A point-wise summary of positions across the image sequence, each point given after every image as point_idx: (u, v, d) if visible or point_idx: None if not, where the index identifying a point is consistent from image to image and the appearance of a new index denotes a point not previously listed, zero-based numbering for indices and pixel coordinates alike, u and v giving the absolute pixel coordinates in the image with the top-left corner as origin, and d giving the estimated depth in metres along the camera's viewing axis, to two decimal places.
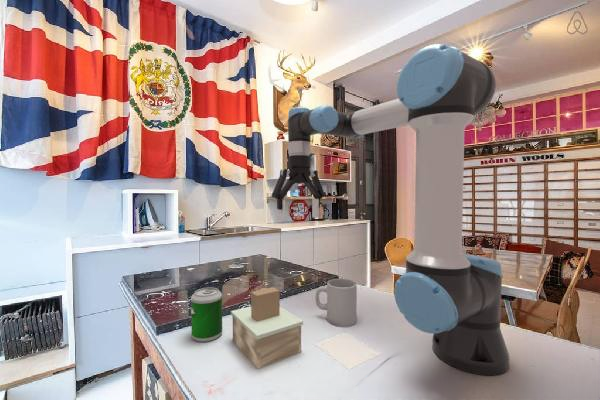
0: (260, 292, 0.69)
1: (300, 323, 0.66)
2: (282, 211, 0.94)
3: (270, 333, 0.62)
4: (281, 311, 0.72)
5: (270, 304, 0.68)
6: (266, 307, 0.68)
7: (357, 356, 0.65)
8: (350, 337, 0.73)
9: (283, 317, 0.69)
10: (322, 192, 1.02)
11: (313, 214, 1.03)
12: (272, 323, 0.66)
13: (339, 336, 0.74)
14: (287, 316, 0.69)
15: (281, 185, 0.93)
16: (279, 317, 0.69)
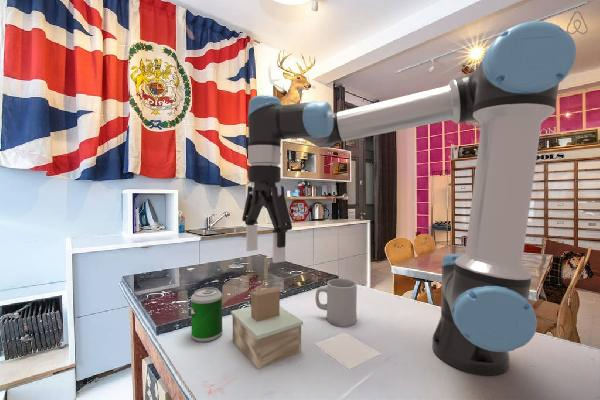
0: (260, 292, 0.69)
1: (300, 323, 0.66)
2: None
3: (270, 333, 0.62)
4: (281, 311, 0.72)
5: (270, 304, 0.68)
6: (266, 307, 0.68)
7: (357, 356, 0.65)
8: (350, 337, 0.73)
9: (283, 317, 0.69)
10: (279, 223, 0.60)
11: None
12: (272, 323, 0.66)
13: (339, 336, 0.74)
14: (287, 316, 0.69)
15: (245, 207, 0.74)
16: (279, 317, 0.69)
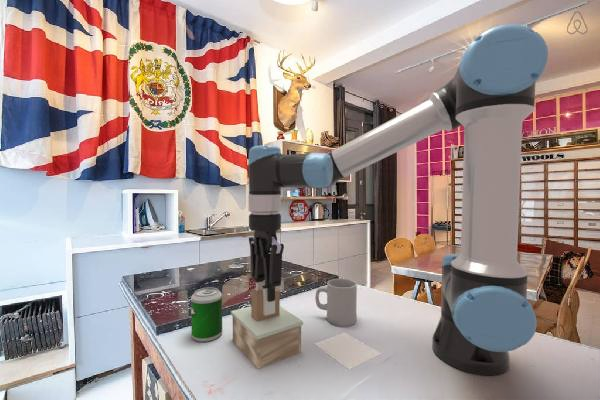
0: (260, 292, 0.69)
1: (300, 323, 0.66)
2: None
3: (270, 333, 0.62)
4: (281, 311, 0.72)
5: None
6: None
7: (357, 356, 0.65)
8: (350, 337, 0.73)
9: (283, 317, 0.69)
10: (270, 280, 0.64)
11: None
12: (272, 323, 0.66)
13: (339, 336, 0.74)
14: (287, 316, 0.69)
15: (251, 260, 0.72)
16: (279, 317, 0.69)
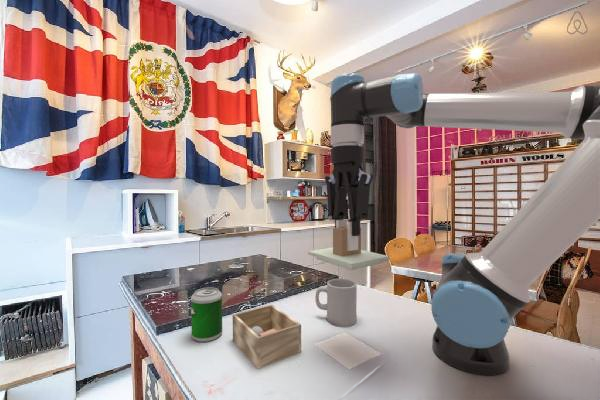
0: (342, 228, 0.67)
1: (387, 258, 0.64)
2: None
3: (362, 263, 0.60)
4: (360, 251, 0.70)
5: None
6: None
7: (357, 356, 0.65)
8: (350, 337, 0.73)
9: (366, 254, 0.66)
10: (358, 211, 0.62)
11: None
12: (359, 257, 0.63)
13: (339, 336, 0.74)
14: (370, 253, 0.67)
15: (329, 199, 0.70)
16: (362, 254, 0.66)
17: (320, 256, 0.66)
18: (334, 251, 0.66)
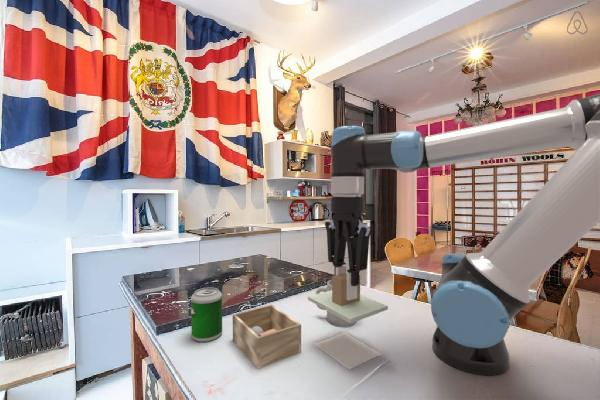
0: (341, 276, 0.67)
1: (385, 308, 0.65)
2: None
3: (361, 317, 0.60)
4: (359, 297, 0.70)
5: None
6: None
7: (357, 356, 0.65)
8: (350, 337, 0.73)
9: (365, 302, 0.67)
10: (357, 263, 0.63)
11: None
12: (358, 307, 0.64)
13: (339, 336, 0.74)
14: (369, 301, 0.68)
15: (329, 245, 0.71)
16: (361, 302, 0.67)
17: (319, 304, 0.67)
18: (333, 299, 0.67)
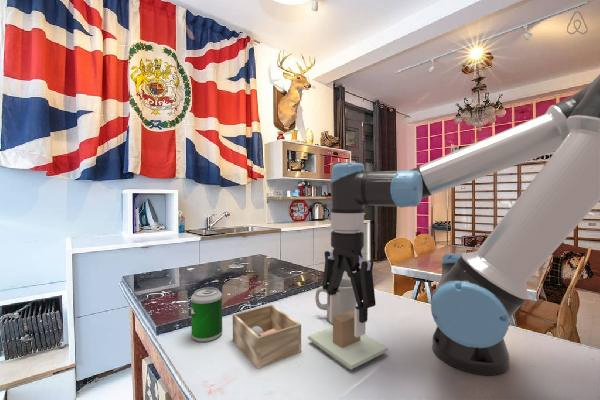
0: (342, 317, 0.67)
1: (386, 349, 0.65)
2: None
3: (362, 362, 0.61)
4: None
5: (353, 329, 0.67)
6: (349, 332, 0.66)
7: None
8: None
9: (365, 342, 0.67)
10: (365, 300, 0.61)
11: None
12: (358, 350, 0.64)
13: None
14: (369, 341, 0.68)
15: (325, 273, 0.72)
16: (361, 342, 0.67)
17: (320, 345, 0.67)
18: (334, 340, 0.67)
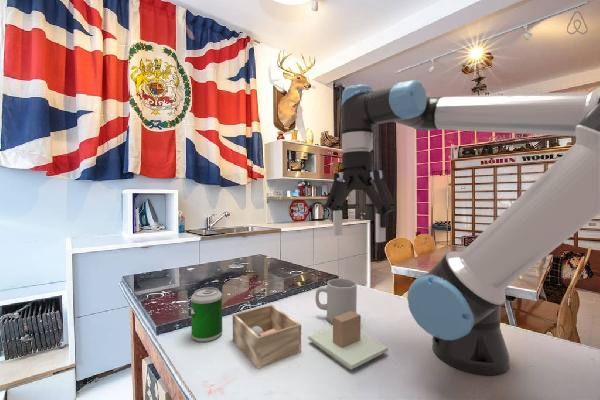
0: (342, 317, 0.67)
1: (386, 349, 0.65)
2: None
3: (362, 362, 0.61)
4: (359, 335, 0.71)
5: (353, 329, 0.67)
6: (349, 332, 0.66)
7: None
8: None
9: (365, 342, 0.67)
10: (385, 203, 0.64)
11: None
12: (358, 350, 0.64)
13: None
14: (369, 341, 0.68)
15: (331, 193, 0.77)
16: (361, 342, 0.67)
17: (320, 345, 0.67)
18: (334, 340, 0.67)
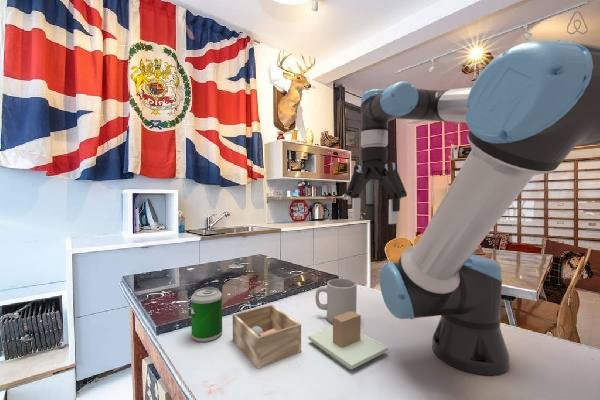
0: (342, 317, 0.67)
1: (386, 349, 0.65)
2: None
3: (362, 362, 0.61)
4: (359, 335, 0.71)
5: (353, 329, 0.67)
6: (349, 332, 0.66)
7: None
8: None
9: (365, 342, 0.67)
10: (397, 191, 0.75)
11: None
12: (358, 350, 0.64)
13: None
14: (369, 341, 0.68)
15: (351, 183, 0.89)
16: (361, 342, 0.67)
17: (320, 345, 0.67)
18: (334, 340, 0.67)
